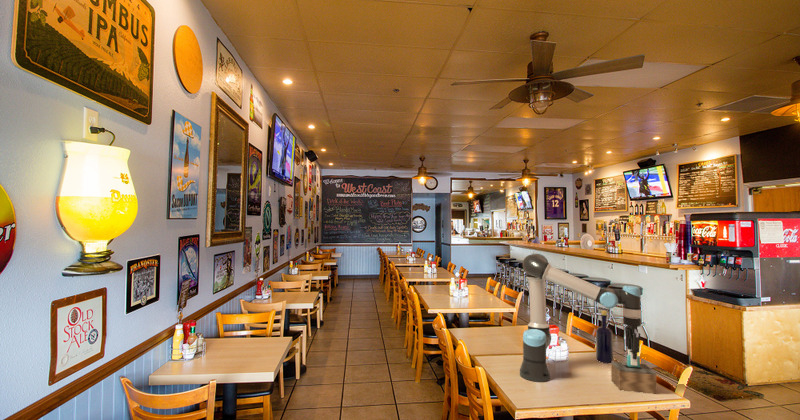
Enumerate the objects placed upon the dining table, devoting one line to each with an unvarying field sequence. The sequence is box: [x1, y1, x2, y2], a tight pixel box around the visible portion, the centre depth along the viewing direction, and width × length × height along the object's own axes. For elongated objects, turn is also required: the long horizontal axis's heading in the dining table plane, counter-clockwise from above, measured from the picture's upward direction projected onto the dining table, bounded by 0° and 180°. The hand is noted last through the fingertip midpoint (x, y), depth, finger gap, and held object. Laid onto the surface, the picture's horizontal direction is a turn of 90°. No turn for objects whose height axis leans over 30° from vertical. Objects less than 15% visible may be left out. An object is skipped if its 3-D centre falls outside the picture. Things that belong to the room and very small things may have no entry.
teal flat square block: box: [626, 354, 641, 367], centre depth 185 cm, size 5×2×5 cm, turn 77°
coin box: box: [610, 360, 657, 395], centre depth 184 cm, size 16×12×10 cm
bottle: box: [595, 310, 614, 364], centre depth 222 cm, size 9×9×30 cm
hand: (632, 363), depth 185 cm, fingers open, 3 cm apart
